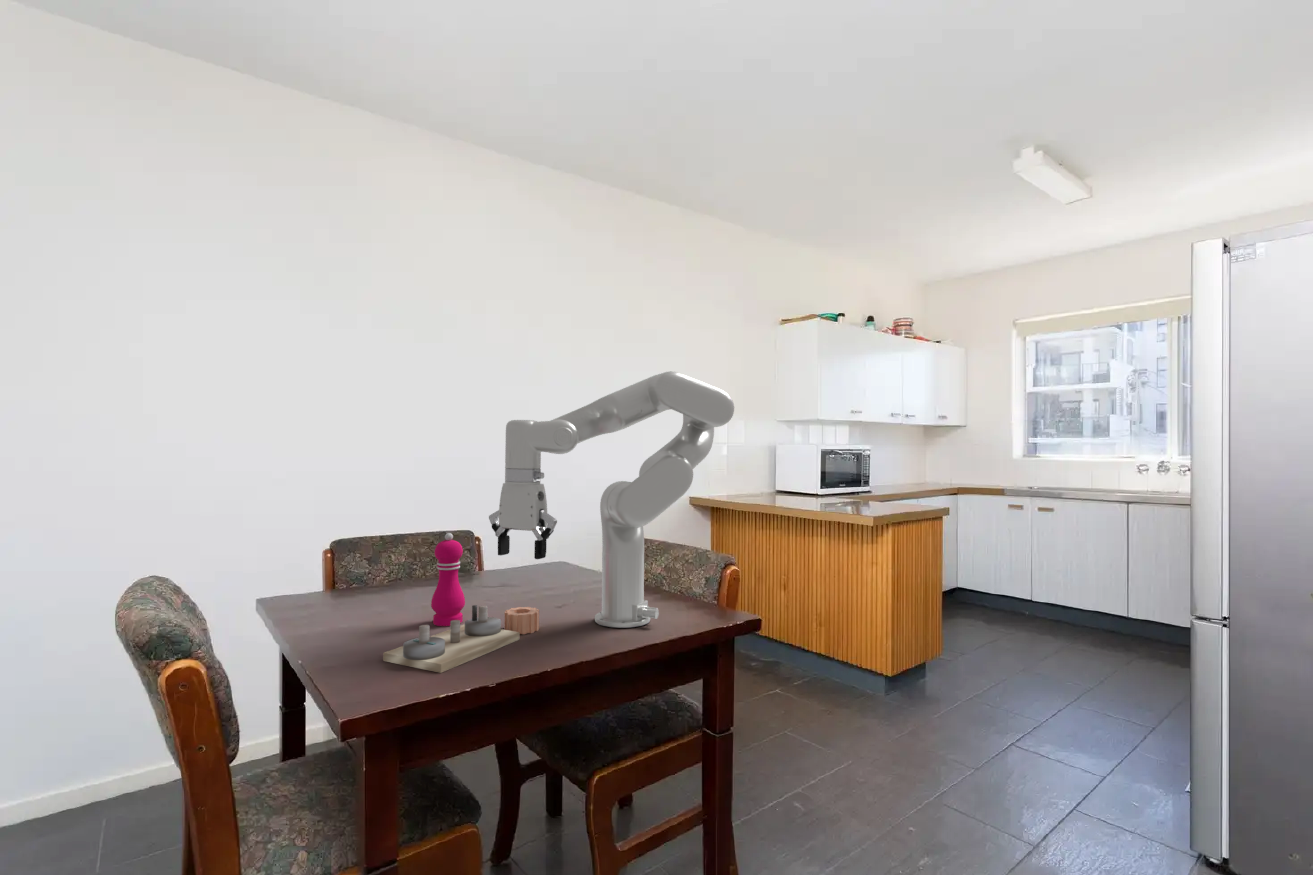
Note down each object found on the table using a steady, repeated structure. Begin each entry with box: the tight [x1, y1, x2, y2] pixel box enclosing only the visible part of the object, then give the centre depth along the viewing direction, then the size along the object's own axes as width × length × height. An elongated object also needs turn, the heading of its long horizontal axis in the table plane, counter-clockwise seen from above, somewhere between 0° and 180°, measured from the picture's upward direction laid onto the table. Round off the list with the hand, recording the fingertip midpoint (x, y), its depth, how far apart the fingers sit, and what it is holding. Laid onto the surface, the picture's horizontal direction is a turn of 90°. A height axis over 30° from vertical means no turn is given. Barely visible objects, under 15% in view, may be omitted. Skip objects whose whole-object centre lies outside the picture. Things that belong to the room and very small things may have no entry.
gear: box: [503, 606, 540, 635], centre depth 141 cm, size 7×7×4 cm
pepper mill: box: [430, 532, 466, 627], centre depth 146 cm, size 7×7×20 cm
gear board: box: [382, 604, 521, 674], centre depth 127 cm, size 14×23×6 cm, turn 154°
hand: (521, 556), depth 141 cm, fingers open, 9 cm apart
